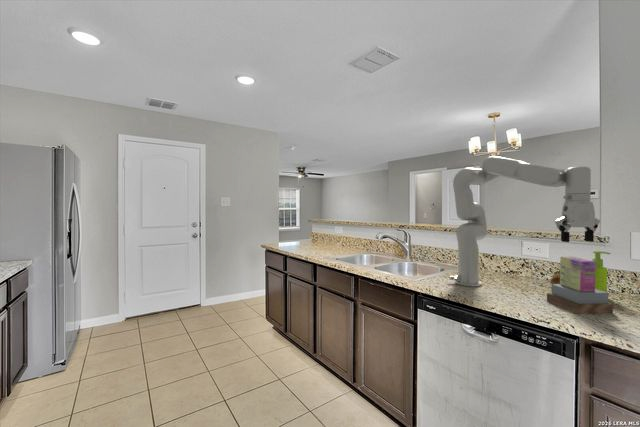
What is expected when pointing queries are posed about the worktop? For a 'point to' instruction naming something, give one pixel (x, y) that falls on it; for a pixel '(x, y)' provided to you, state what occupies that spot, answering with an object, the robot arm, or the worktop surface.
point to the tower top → (580, 295)
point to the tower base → (580, 306)
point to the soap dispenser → (600, 272)
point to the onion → (556, 278)
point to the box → (578, 273)
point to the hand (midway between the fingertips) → (577, 241)
